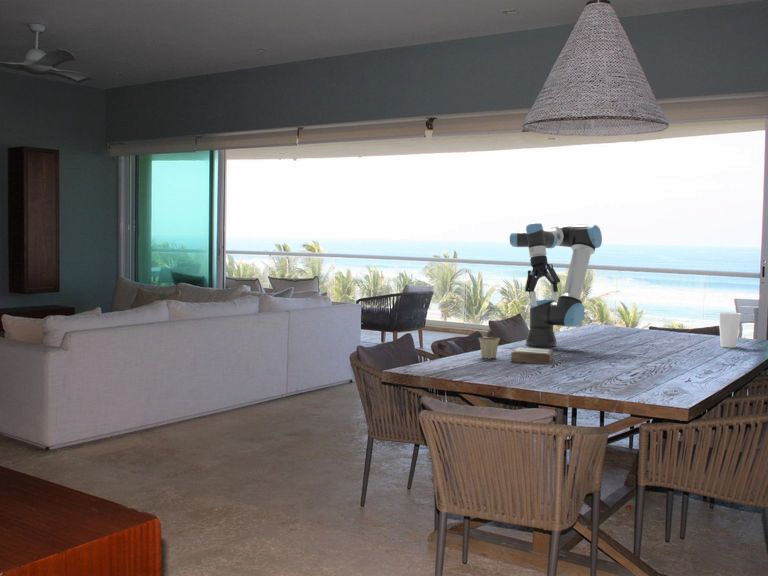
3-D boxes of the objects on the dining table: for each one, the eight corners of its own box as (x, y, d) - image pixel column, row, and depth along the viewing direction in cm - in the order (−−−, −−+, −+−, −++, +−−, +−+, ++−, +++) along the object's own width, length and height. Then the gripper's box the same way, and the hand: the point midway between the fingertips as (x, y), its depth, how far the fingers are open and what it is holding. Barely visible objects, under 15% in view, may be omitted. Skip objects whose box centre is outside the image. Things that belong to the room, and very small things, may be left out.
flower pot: (474, 356, 352) (474, 337, 351) (493, 356, 354) (494, 337, 354) (483, 359, 343) (484, 340, 342) (503, 359, 346) (503, 339, 345)
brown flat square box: (516, 356, 353) (516, 347, 353) (552, 358, 348) (553, 348, 348) (511, 361, 338) (511, 351, 337) (549, 363, 333) (549, 353, 333)
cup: (712, 346, 401) (714, 312, 400) (722, 344, 408) (723, 311, 407) (735, 348, 392) (736, 314, 392) (743, 347, 399) (745, 313, 398)
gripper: (513, 263, 367) (519, 308, 363) (551, 249, 347) (558, 296, 342) (525, 264, 371) (532, 308, 367) (563, 250, 351) (570, 297, 346)
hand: (544, 302), depth 355 cm, fingers open, 13 cm apart
